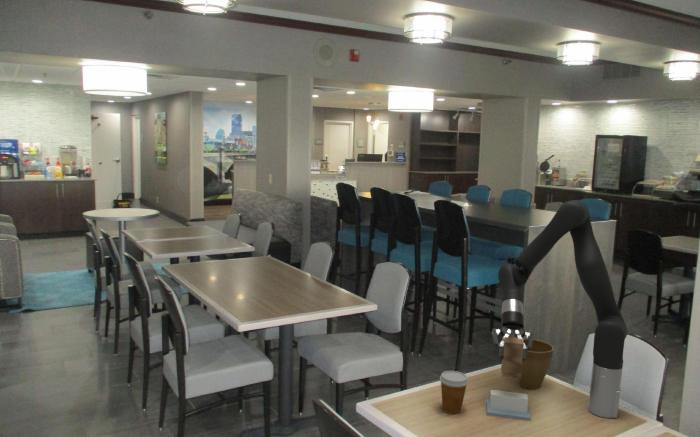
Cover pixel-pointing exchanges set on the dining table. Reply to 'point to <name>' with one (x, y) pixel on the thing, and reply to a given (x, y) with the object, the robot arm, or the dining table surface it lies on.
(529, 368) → the plant pot
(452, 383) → the disposable coffee cup
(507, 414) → the butter dish
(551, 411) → the dining table surface
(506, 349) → the post
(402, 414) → the dining table surface
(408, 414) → the dining table surface
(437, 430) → the dining table surface
